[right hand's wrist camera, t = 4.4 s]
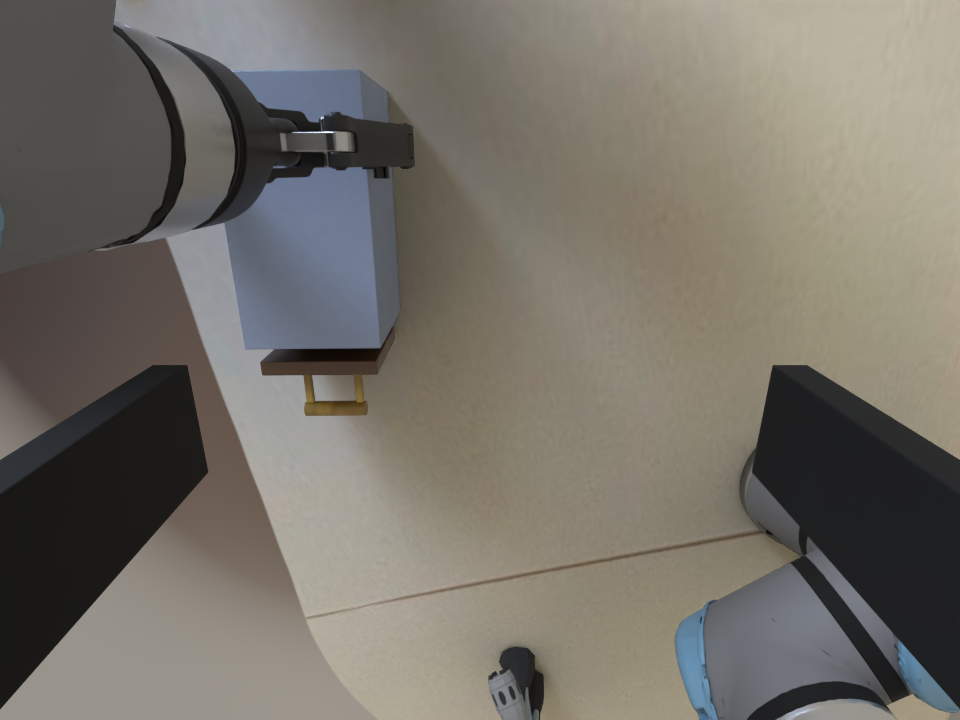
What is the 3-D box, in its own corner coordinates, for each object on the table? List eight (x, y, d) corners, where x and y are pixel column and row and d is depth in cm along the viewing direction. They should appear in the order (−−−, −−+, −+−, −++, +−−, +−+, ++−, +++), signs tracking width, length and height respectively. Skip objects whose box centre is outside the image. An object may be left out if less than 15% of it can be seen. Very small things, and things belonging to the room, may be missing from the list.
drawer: (398, 389, 55) (382, 433, 46) (305, 389, 55) (271, 433, 46) (381, 136, 47) (358, 130, 38) (272, 137, 47) (223, 132, 38)
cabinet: (400, 311, 54) (380, 348, 43) (292, 311, 54) (245, 349, 43) (387, 90, 47) (359, 69, 36) (263, 91, 47) (199, 71, 36)
